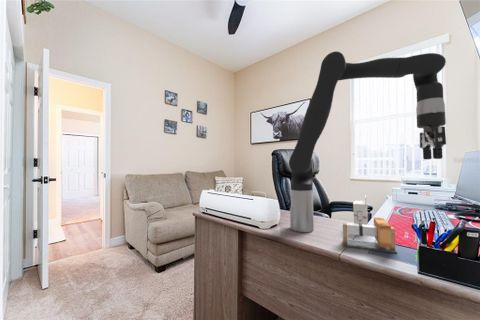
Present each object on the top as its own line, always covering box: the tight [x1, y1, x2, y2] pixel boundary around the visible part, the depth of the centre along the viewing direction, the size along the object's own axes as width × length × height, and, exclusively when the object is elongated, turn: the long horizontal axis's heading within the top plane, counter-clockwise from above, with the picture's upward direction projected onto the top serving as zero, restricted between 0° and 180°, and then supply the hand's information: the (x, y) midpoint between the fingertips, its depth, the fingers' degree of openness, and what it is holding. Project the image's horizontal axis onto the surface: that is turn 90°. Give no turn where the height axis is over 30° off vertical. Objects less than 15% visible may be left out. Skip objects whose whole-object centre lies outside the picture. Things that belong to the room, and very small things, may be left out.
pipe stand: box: [342, 222, 398, 254], centre depth 71 cm, size 15×6×7 cm, turn 66°
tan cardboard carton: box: [373, 217, 392, 248], centre depth 69 cm, size 3×10×7 cm, turn 156°
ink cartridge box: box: [352, 194, 369, 225], centre depth 89 cm, size 9×5×15 cm, turn 148°
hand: (432, 159), depth 74 cm, fingers open, 8 cm apart
